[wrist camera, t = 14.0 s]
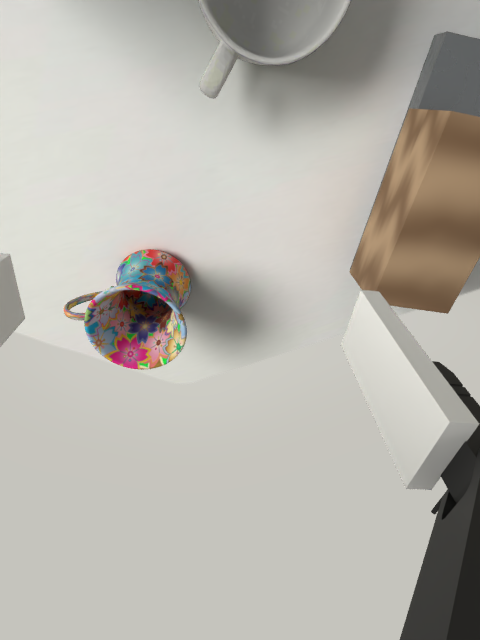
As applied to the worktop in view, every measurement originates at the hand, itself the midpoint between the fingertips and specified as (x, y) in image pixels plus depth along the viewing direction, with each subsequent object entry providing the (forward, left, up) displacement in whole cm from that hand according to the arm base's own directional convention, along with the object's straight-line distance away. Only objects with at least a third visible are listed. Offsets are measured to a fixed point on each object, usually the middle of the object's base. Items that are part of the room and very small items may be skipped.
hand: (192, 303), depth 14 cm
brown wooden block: (-1, +20, -24) cm, 31 cm away
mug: (+13, -7, -26) cm, 30 cm away
